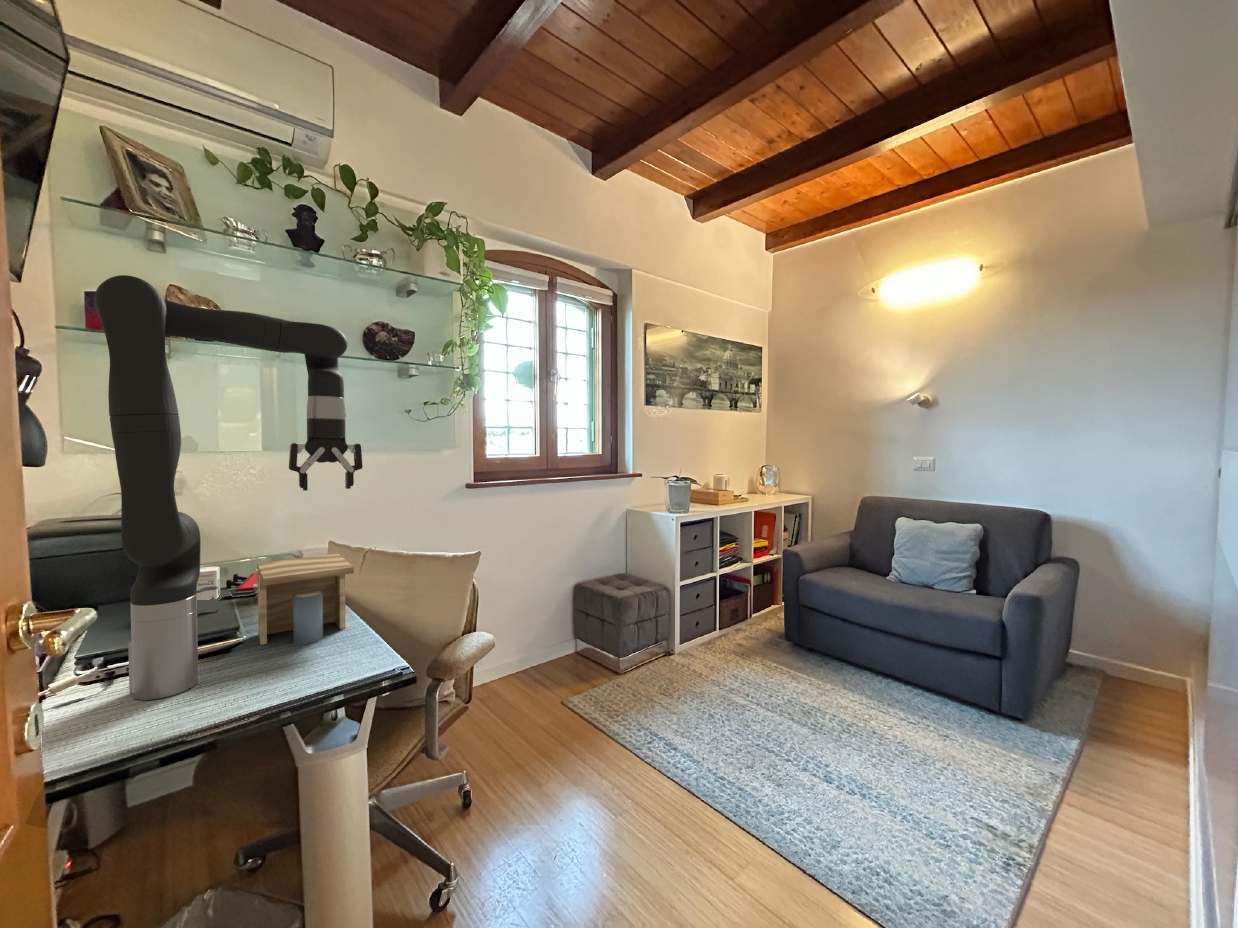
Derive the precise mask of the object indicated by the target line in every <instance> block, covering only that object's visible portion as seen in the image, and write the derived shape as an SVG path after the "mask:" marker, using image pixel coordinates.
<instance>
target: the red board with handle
mask: <svg viewBox="0 0 1238 928" xmlns="http://www.w3.org/2000/svg"><path fill="white" fill-rule="evenodd" d="M238 581H243V582H242V583H241V582H238ZM225 582H226V583H225V585H226V586H225V587H226V588H228V589H227V590H230V589H231V588H232V587H236V589H235V591H230V592H231V594H232V597H231V598H234V597H245V596H258V582H257V572H252V573H250V575H249V576H248V577H247V576H246V577H245V576H240V575H239V574H238V573H234V574H233V575H232V579H227V580H226V581H225ZM226 588H225V589H226Z"/></svg>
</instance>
